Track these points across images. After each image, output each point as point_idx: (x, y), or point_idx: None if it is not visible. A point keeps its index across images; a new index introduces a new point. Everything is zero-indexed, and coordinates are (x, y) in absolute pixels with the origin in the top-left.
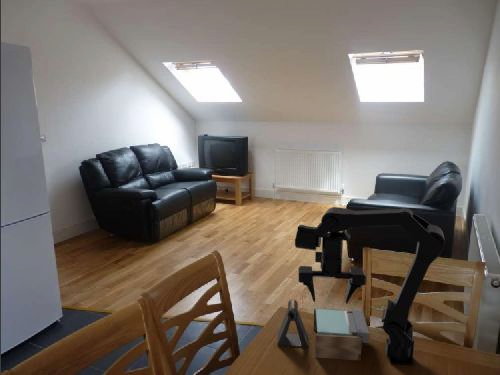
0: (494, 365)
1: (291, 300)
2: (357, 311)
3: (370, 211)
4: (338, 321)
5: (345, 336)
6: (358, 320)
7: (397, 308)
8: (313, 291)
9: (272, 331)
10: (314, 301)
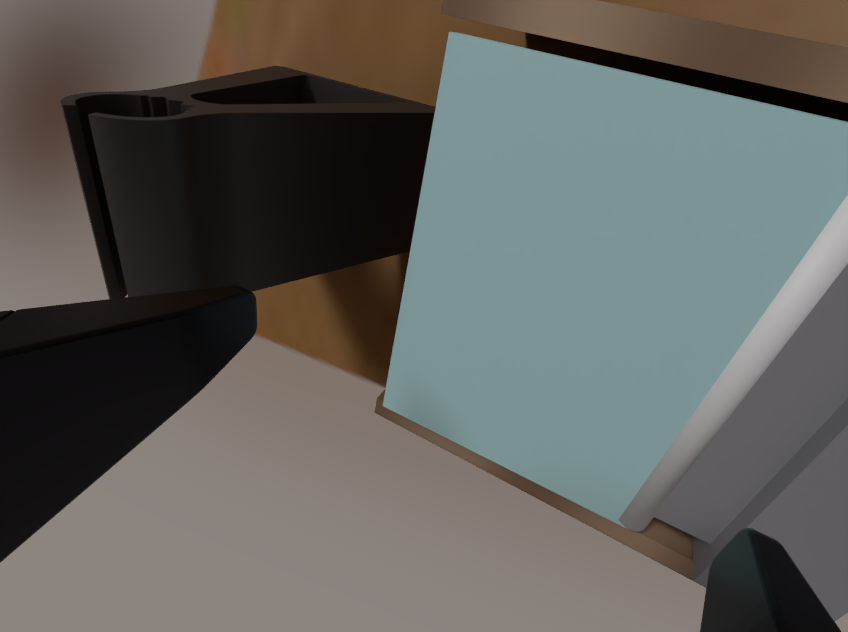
0: None
1: (70, 122)
2: None
3: None
4: (616, 350)
5: (576, 512)
6: None
7: None
8: (32, 522)
9: (250, 27)
10: (240, 340)
